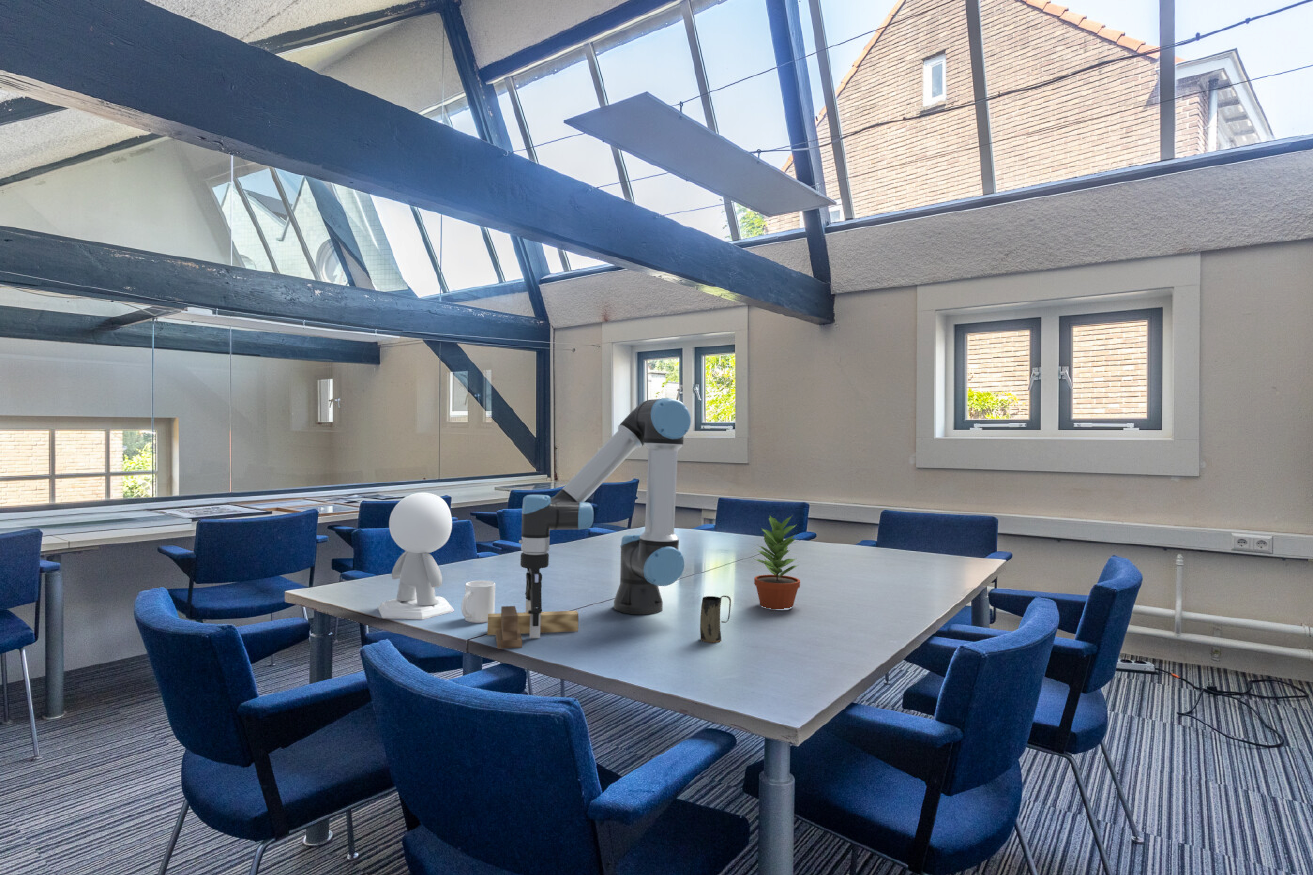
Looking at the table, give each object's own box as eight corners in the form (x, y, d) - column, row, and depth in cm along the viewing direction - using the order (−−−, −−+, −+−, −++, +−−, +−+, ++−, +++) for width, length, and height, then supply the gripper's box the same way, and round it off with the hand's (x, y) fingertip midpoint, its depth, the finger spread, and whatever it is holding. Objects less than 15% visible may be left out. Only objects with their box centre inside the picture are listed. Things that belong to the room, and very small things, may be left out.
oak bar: (576, 628, 192) (576, 610, 192) (577, 632, 188) (578, 613, 188) (487, 632, 186) (487, 613, 186) (487, 636, 183) (487, 617, 183)
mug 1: (473, 628, 189) (474, 590, 189) (449, 624, 192) (450, 587, 192) (500, 618, 200) (501, 582, 200) (476, 614, 203) (477, 579, 203)
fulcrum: (519, 636, 182) (519, 605, 182) (521, 647, 173) (522, 615, 173) (495, 637, 181) (496, 606, 181) (497, 648, 171) (498, 616, 171)
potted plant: (751, 600, 230) (753, 509, 230) (797, 602, 228) (800, 511, 227) (751, 611, 215) (753, 514, 215) (801, 614, 213) (803, 516, 213)
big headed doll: (468, 607, 210) (471, 492, 210) (404, 624, 191) (408, 497, 191) (425, 598, 221) (427, 488, 221) (360, 612, 201) (363, 492, 201)
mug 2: (697, 641, 182) (698, 595, 182) (702, 635, 187) (704, 591, 187) (726, 645, 179) (728, 598, 179) (731, 639, 184) (732, 594, 184)
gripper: (517, 545, 198) (515, 618, 198) (524, 560, 174) (521, 644, 174) (543, 544, 200) (541, 618, 200) (554, 560, 176) (551, 643, 176)
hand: (532, 630), depth 187 cm, fingers open, 13 cm apart
